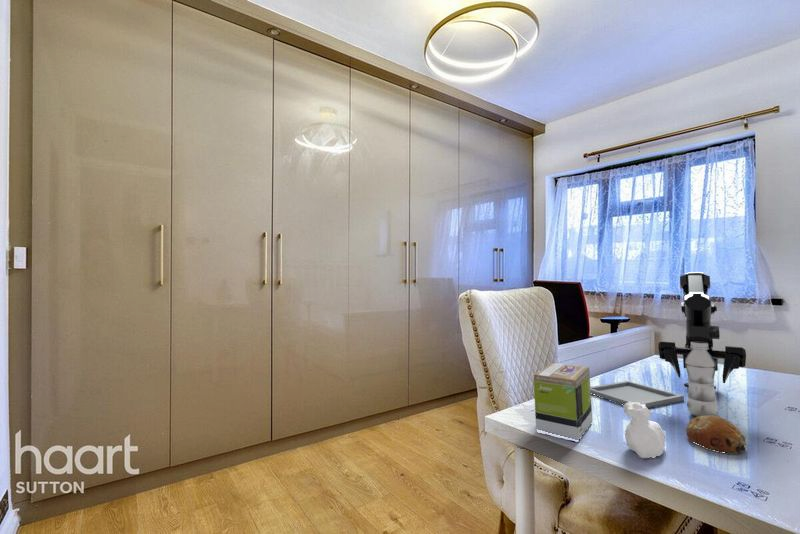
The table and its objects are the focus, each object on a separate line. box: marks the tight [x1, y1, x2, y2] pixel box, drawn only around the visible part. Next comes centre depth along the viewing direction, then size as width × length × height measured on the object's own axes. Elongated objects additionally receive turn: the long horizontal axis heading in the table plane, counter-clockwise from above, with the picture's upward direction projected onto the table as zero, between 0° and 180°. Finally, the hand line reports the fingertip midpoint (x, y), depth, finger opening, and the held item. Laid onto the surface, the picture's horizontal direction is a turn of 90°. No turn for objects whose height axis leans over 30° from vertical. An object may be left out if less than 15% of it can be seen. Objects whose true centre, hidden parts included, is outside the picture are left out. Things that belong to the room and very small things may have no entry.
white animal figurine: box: [622, 402, 666, 459], centre depth 80 cm, size 12×8×11 cm
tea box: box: [533, 362, 593, 440], centre depth 92 cm, size 15×10×15 cm
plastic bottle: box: [685, 341, 720, 417], centre depth 98 cm, size 6×7×20 cm
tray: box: [590, 380, 685, 409], centre depth 115 cm, size 20×18×2 cm
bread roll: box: [685, 415, 748, 454], centre depth 82 cm, size 10×10×8 cm
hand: (701, 379), depth 97 cm, fingers open, 9 cm apart
